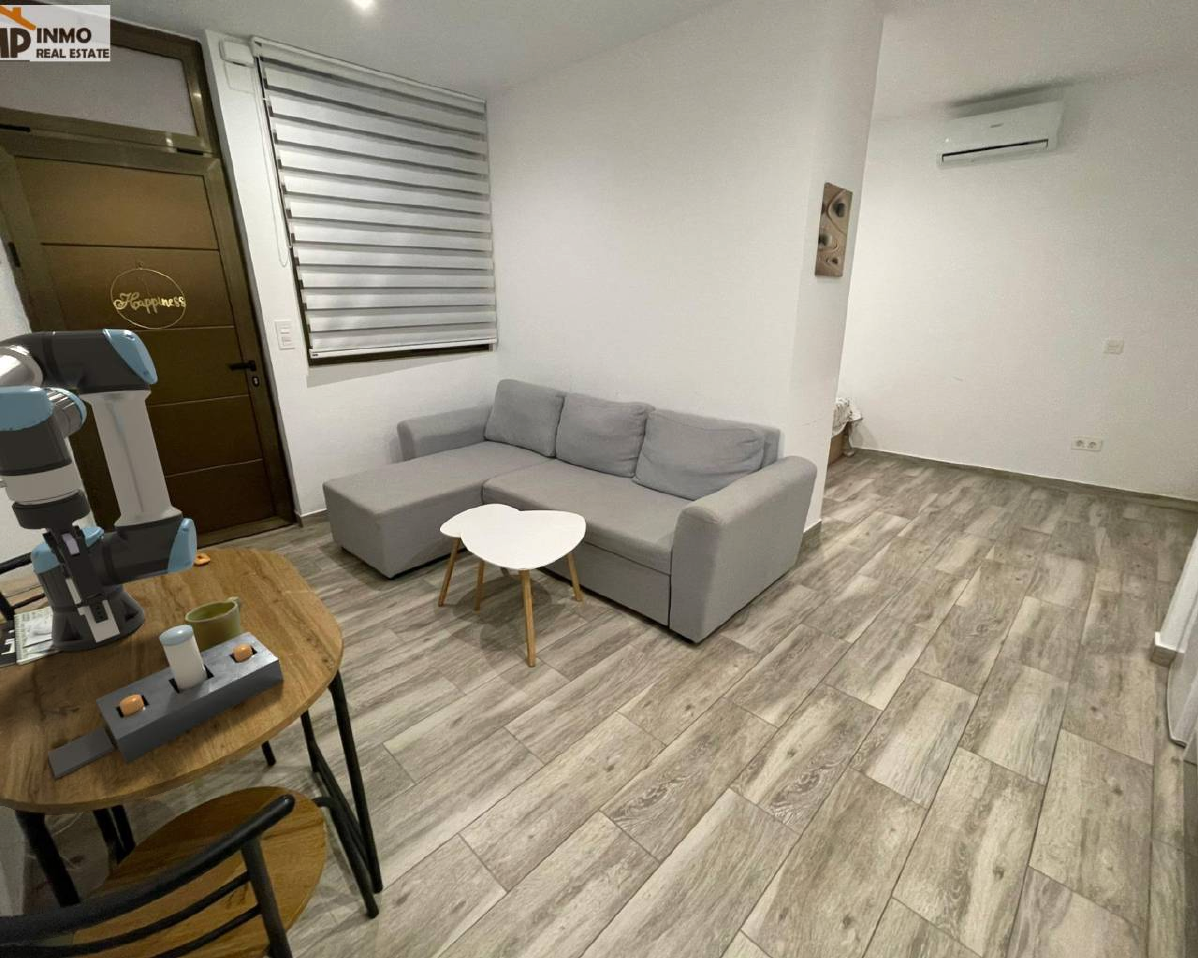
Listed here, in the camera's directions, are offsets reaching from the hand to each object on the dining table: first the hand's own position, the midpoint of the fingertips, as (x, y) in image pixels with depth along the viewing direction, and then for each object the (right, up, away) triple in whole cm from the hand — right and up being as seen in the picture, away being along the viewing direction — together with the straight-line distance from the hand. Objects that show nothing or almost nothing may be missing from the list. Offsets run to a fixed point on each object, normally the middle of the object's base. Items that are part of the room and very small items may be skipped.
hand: (99, 623), depth 83 cm
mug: (-2, -12, +31) cm, 34 cm away
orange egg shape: (+10, -15, +20) cm, 27 cm away
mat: (-6, -22, +3) cm, 23 cm away
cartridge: (+5, -18, +14) cm, 23 cm away
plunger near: (0, -20, +7) cm, 21 cm away
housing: (+5, -18, +14) cm, 23 cm away
